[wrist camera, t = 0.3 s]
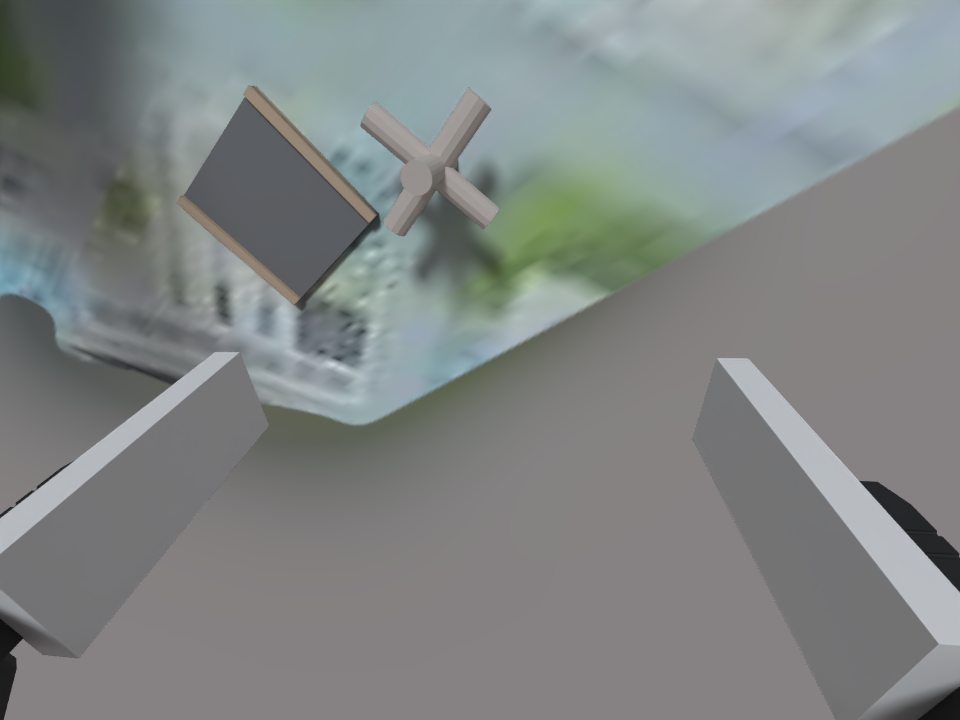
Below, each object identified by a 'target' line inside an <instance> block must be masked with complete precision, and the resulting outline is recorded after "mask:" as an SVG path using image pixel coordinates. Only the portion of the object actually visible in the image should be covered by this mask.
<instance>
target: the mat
mask: <svg viewBox="0 0 960 720" xmlns="http://www.w3.org/2000/svg"><path fill="white" fill-rule="evenodd" d="M243 95H244V96H245V98H244V99H243V101H242V103H241V104H240V106H239V107H238V109H237V111H236V112H235V114H234V116H233V117H232V119H231V120H230V122H229V124H228V125H227V127H226V129H225V130H224V132H223V133H222V135H221V137H220V138H219V140H218V141H217V143H216V145H215V146H214V148H213V150H212V151H211V153H210V154H209V156H208V158H207V159H206V161H205V163H204V164H203V166H202V167H201V169H200V171H199V172H198V174H197V175H196V177H195V179H194V180H193V182H192V184H191V185H190V187H189V188H188V190H187V192H186V193H185V195H184V196H181V197H180V198H179V200H178V201H177V204H178V205H180V206H181V207H182V208H183V209H184V210H185V211H187V212H188V213H189V214H190V215H191V216H192V217H193V218H195V219H196V220H197V221H198V222H199V223H200V224H202V225H203V226H204V227H205V228H206V229H207V230H208V231H210V232H211V233H212V234H213V235H214V236H215V237H217V238H218V239H219V240H220V241H221V242H222V243H223V244H225V245H226V246H227V247H228V248H229V249H230V250H232V251H233V252H234V253H235V254H236V255H237V256H238V257H240V258H241V259H242V260H243V261H244V262H245V263H247V264H248V265H249V266H250V267H251V268H252V269H253V270H255V271H256V272H257V273H258V274H259V275H260V276H262V277H263V278H264V279H265V280H266V281H267V282H268V283H270V284H271V285H272V286H273V287H274V288H275V289H277V290H278V291H279V292H280V293H281V294H282V295H283V296H285V297H286V298H287V299H288V300H289V301H290V302H292V303H293V304H294V305H295V304H296V303H297V302H298V301H299V300H300V299H301V298H302V297H303V296H304V295H305V294H306V293H307V292H308V291H309V290H310V288H311V287H312V286H313V285H314V284H315V283H316V282H317V281H318V280H319V279H320V278H321V276H322V275H323V274H324V273H325V272H326V271H327V270H328V269H329V268H330V267H331V266H332V264H333V263H334V262H335V261H336V260H337V259H338V258H339V257H340V256H341V255H342V254H343V252H344V251H345V250H346V249H347V248H348V247H349V246H350V245H351V244H352V243H353V242H354V240H355V239H356V238H357V237H358V236H359V235H360V234H361V233H362V232H363V231H364V230H365V228H366V227H367V226H368V225H369V224H370V223H371V222H372V221H373V220H374V219H375V218H376V217H377V215H378V214H379V213H378V212H377V211H376V210H375V209H374V208H373V207H372V206H371V205H370V204H369V203H368V202H367V201H366V200H365V199H364V198H363V197H362V196H361V195H360V193H359V192H358V191H357V190H356V189H355V188H354V187H353V186H352V185H351V184H350V183H349V182H348V181H347V180H346V179H345V178H344V177H343V176H342V175H341V174H340V173H339V172H338V171H337V170H336V169H335V168H334V166H333V165H332V164H331V163H330V162H329V161H328V160H327V159H326V158H325V157H324V156H323V155H322V154H321V153H320V152H319V151H318V150H317V149H316V148H315V147H314V146H313V145H312V144H311V143H310V142H309V140H308V139H307V138H306V137H305V136H304V135H303V134H302V133H301V132H300V131H299V130H298V129H297V128H296V127H295V126H294V125H293V124H292V123H291V122H290V121H289V120H288V119H287V118H286V117H285V116H284V115H283V113H282V112H281V111H280V110H279V109H278V108H277V107H276V106H275V105H274V104H273V103H272V102H271V101H270V100H269V99H268V98H267V97H266V96H265V95H264V94H263V93H262V92H261V91H260V90H259V89H258V87H257V86H248V87H247V89H246V91H245V92H244V94H243Z"/></svg>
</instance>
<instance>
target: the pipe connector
mask: <svg viewBox="0 0 960 720" xmlns="http://www.w3.org/2000/svg"><path fill="white" fill-rule="evenodd" d="M490 111H491V108H490V107H489V105H488V104H487V103H485V102H484V101H483V100H482V99H481V98H480V97H479V96H478V95H477V94H476V93H475V92H474V91H472V90H471V89H470V88H469V87H468V89H467V90H466V92H465V93H464V95H463V96H462V98H461V100H460V101H459V103H458V104H457V106H456V107H455V109H454V110H453V112H452V114H451V115H450V117H449V118H448V120H447V121H446V123H445V125H444V126H443V128H442V129H441V131H440V132H439V134H438V136H437V137H436V139H435V140H434V142H433V143H432V145H431V146H430V148H429V147H428V146H427V145H426V144H425V143H424V142H422V141H421V140H420V139H419V138H418V137H417V136H416V135H414V134H413V133H412V132H411V131H410V130H409V129H407V128H406V127H405V126H404V125H403V124H402V123H401V122H399V121H398V120H397V119H396V118H395V117H394V116H392V115H391V114H390V113H389V112H388V111H387V110H386V109H384V108H383V107H382V106H381V105H380V104H379V103H377V102H374V103H373V104H372V105H371V106H370V107H369V108H368V110H367V111H366V113H365V115H364V117H363V119H362V121H361V127H362V128H363V129H364V130H365V131H366V132H368V133H369V134H370V135H371V136H372V137H374V138H375V139H376V140H377V141H378V142H380V143H381V144H382V145H383V146H384V147H386V148H387V149H388V150H389V151H390V152H392V153H393V154H394V155H395V156H396V157H398V158H399V159H400V160H401V161H402V162H403V163H405V165H404V166H403V168H402V170H401V175H400V177H401V183H402V185H403V187H404V189H403V190H402V192H401V193H400V195H399V197H398V198H397V200H396V201H395V203H394V204H393V206H392V208H391V209H390V211H389V212H388V214H387V215H386V217H385V218H384V221H383V222H384V224H385V225H386V227H387V228H388V229H390V230H391V231H392V232H394V233H395V234H397V235H399V236H405V235H406V234H407V232H408V231H409V229H410V228H411V226H412V225H413V223H414V222H415V220H416V219H417V218H418V216H419V215H420V213H421V212H422V210H423V209H424V207H425V206H426V204H427V203H428V201H429V200H430V199H431V197H432V196H433V194H434V193H435V191H436V190H437V191H438V192H439V193H440V194H442V195H443V196H444V197H445V198H446V199H448V200H449V201H450V202H451V203H452V204H454V205H455V206H456V207H457V208H458V209H460V210H461V211H462V212H463V213H464V214H466V215H467V216H468V217H469V218H470V219H472V220H473V221H474V222H475V223H476V224H477V225H479V226H480V227H481V228H482V229H484V228H485V227H486V226H487V225H488V224H489V223H490V221H491V220H492V219H493V217H494V216H495V215H496V213H497V212H498V210H499V207H498V206H496V205H495V204H494V203H493V202H492V201H491V200H489V199H488V198H487V197H486V196H485V195H484V194H483V193H481V192H480V191H479V190H478V189H477V188H476V187H474V186H473V185H472V184H471V183H470V182H469V181H468V180H466V179H465V178H464V177H463V176H462V175H461V174H459V173H458V172H457V171H456V168H457V165H458V158H459V156H460V155H461V153H462V152H463V150H464V149H465V147H466V146H467V144H468V143H469V142H470V140H471V139H472V137H473V136H474V134H475V133H476V131H477V130H478V128H479V127H480V125H481V124H482V123H483V121H484V120H485V118H486V117H487V115H488V114H489V112H490Z"/></svg>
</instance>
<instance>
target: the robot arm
mask: <svg viewBox="0 0 960 720" xmlns="http://www.w3.org/2000/svg"><path fill="white" fill-rule="evenodd" d="M268 426H269V425H268V422H267V420H266V417H265V415H264V412H263V410H262V407H261V405H260V402H259V399H258V397H257V394H256V392H255V389H254V387H253V384H252V382H251V379H250V377H249V374H248V372H247V369H246V367H245V364H244V362H243V359H242V357H241V354H240V352H214V353H213V354H212V355H211V356H209V357H208V358H207V359H205V360H204V361H203V362H202V363H200V364H199V365H198V366H196V367H195V368H194V369H193V370H191V371H190V372H189V373H187V374H186V375H185V376H183V377H182V378H181V379H180V380H178V381H177V382H176V383H174V384H173V385H172V386H171V387H169V388H168V389H167V390H165V391H164V392H163V393H162V394H160V395H159V396H158V397H156V398H155V399H154V400H152V402H150V403H149V404H147V405H146V406H145V407H143V408H142V409H141V410H140V411H138V412H137V413H136V414H135V415H133V416H132V417H131V418H129V419H128V420H127V421H125V422H124V423H123V424H121V425H120V426H119V427H118V428H116V429H115V430H114V431H112V432H111V433H110V434H109V435H107V436H106V437H105V438H103V439H102V440H101V441H100V442H98V443H97V444H96V445H94V446H93V447H92V448H91V449H89V450H88V451H87V452H85V453H84V454H83V455H81V456H80V457H79V458H78V459H76V460H75V461H73V462H71V463H69V464H67V465H66V466H64V467H62V468H60V469H59V470H58V471H57V472H55V473H54V474H53V475H51V476H50V477H49V478H47V479H46V480H45V481H44V482H42V483H41V484H40V485H38V486H37V489H36V490H35V491H31V492H29V493H28V494H27V495H25V496H24V497H23V498H21V499H20V500H19V501H17V502H16V506H15V507H10V508H8V509H7V510H6V511H4V512H3V513H2V514H1V515H0V720H4V716H5V712H6V708H7V704H8V700H9V696H10V692H11V688H12V684H13V681H14V677H15V673H16V669H17V667H16V658H15V657H14V656H12V655H11V654H10V651H11V650H12V649H13V648H14V647H15V646H16V645H17V644H18V643H19V642H20V641H21V640H22V639H24V640H25V641H26V642H28V643H29V644H30V645H31V646H32V647H34V648H35V649H36V650H37V651H39V652H40V653H41V654H42V655H50V656H60V657H70V658H80V657H81V655H82V654H83V653H84V652H85V650H86V649H87V648H88V647H89V646H90V644H91V643H92V642H93V641H94V639H95V638H96V637H97V635H98V634H99V633H100V632H101V631H102V630H103V628H104V627H105V626H106V625H107V623H108V622H109V621H110V620H111V619H112V617H113V616H114V615H115V614H116V612H117V611H118V610H119V609H120V608H121V606H122V605H123V604H124V603H125V601H126V600H127V599H128V598H129V597H130V595H131V594H132V593H133V592H134V590H135V589H136V588H137V587H138V585H139V584H140V583H141V582H142V581H143V579H144V578H145V577H146V576H147V574H148V573H149V572H150V571H151V570H152V568H153V567H154V566H155V565H156V563H157V562H158V561H159V560H160V559H161V557H162V556H163V555H164V554H165V552H166V551H167V550H168V549H169V548H170V546H171V545H172V544H173V543H174V541H175V540H176V539H177V538H178V537H179V535H180V534H181V533H182V532H183V530H184V529H185V528H186V527H187V525H188V524H189V523H190V522H191V520H192V519H193V518H194V517H195V516H196V514H197V513H198V512H199V511H200V510H201V508H202V507H203V506H204V505H205V503H206V502H207V501H208V500H209V498H210V497H211V496H212V495H213V494H214V492H215V491H216V490H217V489H218V487H219V486H220V485H221V484H222V483H223V481H224V480H225V479H226V478H227V476H228V475H229V474H230V473H231V472H232V470H233V469H234V468H235V467H236V465H237V464H238V463H239V462H240V460H241V459H242V458H243V457H244V456H245V454H246V453H247V452H248V451H249V450H250V448H251V447H252V446H253V445H254V443H255V442H256V441H257V440H258V439H259V437H260V436H261V435H262V434H263V432H264V431H265V430H266V429H267V427H268ZM692 439H693V442H694V444H695V446H696V447H697V449H698V451H699V453H700V455H701V457H702V459H703V461H704V463H705V465H706V467H707V469H708V471H709V473H710V475H711V477H712V479H713V481H714V483H715V485H716V486H717V488H718V490H719V493H720V494H721V496H722V498H723V500H724V502H725V504H726V506H727V508H728V510H729V512H730V514H731V516H732V518H733V520H734V522H735V524H736V526H737V528H738V530H739V532H740V534H741V536H742V537H743V539H744V541H745V543H746V545H747V547H748V549H749V551H750V553H751V555H752V557H753V559H754V561H755V563H756V565H757V567H758V569H759V571H760V573H761V575H762V576H763V579H764V581H765V583H766V584H767V586H768V588H769V590H770V592H771V594H772V596H773V598H774V600H775V602H776V604H777V606H778V608H779V610H780V612H781V614H782V616H783V618H784V620H785V622H786V623H787V626H788V628H789V629H790V631H791V633H792V635H793V637H794V639H795V641H796V643H797V645H798V647H799V649H800V651H801V653H802V655H803V657H804V659H805V661H806V663H807V665H808V666H809V669H810V671H811V673H812V674H813V676H814V678H815V680H816V682H817V684H818V686H819V688H820V690H821V692H822V694H823V695H824V698H825V700H826V702H827V704H828V706H829V708H830V710H831V712H832V714H833V715H834V718H835V719H836V720H960V558H959V553H958V552H957V551H956V550H955V549H954V548H953V547H952V546H951V545H950V544H949V543H948V542H947V541H946V540H945V539H944V538H943V537H942V536H938V535H937V530H936V529H935V528H934V527H933V526H932V525H931V524H930V523H929V522H928V521H927V520H926V519H925V518H924V517H923V516H922V515H921V514H920V513H919V512H918V511H917V510H916V509H915V508H914V507H913V506H912V505H911V504H909V503H908V502H906V501H905V500H903V499H902V498H900V497H899V496H898V495H896V494H895V493H893V492H892V491H890V490H888V489H887V488H886V487H884V486H883V485H881V484H880V483H878V482H869V481H858V479H857V478H856V477H855V476H854V475H853V474H852V473H851V472H850V471H849V470H848V468H847V467H846V466H845V465H844V464H843V463H842V462H841V461H840V460H839V458H838V457H837V456H836V455H835V454H834V453H833V452H832V451H831V450H830V449H829V448H828V446H827V445H826V444H825V443H824V442H823V441H822V440H821V439H820V437H819V436H818V435H817V434H816V433H815V432H814V431H813V430H812V429H811V428H810V426H809V425H808V424H807V423H806V422H805V421H804V420H803V419H802V418H801V416H800V415H799V414H798V413H797V412H796V411H795V410H794V409H793V408H792V407H791V405H790V404H789V403H788V402H787V401H786V400H785V399H784V398H783V397H782V395H781V394H780V393H779V392H778V391H777V390H776V389H775V388H774V387H773V386H772V385H771V383H770V382H769V381H768V380H767V379H766V378H765V377H764V376H763V374H762V373H761V372H760V371H759V370H758V369H757V368H756V367H755V366H754V365H753V363H752V362H751V361H750V360H749V359H741V358H740V359H739V358H717V359H716V362H715V365H714V368H713V372H712V375H711V378H710V382H709V385H708V388H707V392H706V395H705V398H704V402H703V405H702V408H701V412H700V415H699V418H698V422H697V425H696V428H695V432H694V435H693V438H692Z"/></svg>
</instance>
